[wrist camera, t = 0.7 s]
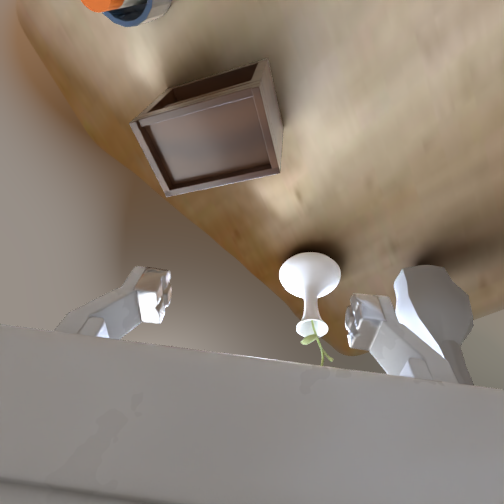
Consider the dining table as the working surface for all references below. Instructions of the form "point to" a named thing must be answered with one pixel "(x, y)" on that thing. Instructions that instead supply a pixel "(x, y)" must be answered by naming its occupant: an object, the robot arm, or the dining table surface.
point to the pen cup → (139, 13)
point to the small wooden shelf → (213, 130)
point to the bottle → (436, 313)
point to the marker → (110, 4)
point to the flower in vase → (310, 290)
